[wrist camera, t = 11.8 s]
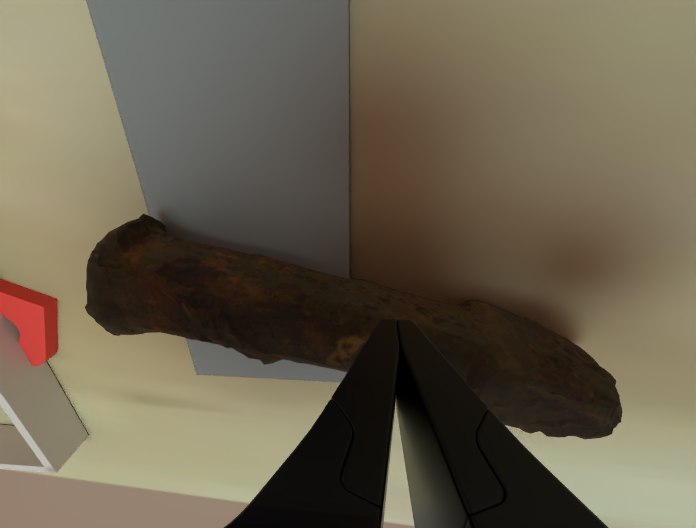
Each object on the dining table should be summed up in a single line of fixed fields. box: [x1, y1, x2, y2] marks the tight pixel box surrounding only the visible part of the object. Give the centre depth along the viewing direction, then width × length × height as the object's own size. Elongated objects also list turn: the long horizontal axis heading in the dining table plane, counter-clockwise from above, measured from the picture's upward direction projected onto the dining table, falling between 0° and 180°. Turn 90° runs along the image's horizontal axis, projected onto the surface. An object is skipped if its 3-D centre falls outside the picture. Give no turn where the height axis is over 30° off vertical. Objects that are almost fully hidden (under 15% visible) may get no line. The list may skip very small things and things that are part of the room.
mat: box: [86, 0, 350, 382], centre depth 13 cm, size 8×16×1 cm, turn 0°
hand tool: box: [85, 214, 622, 439], centre depth 12 cm, size 19×4×5 cm, turn 75°
